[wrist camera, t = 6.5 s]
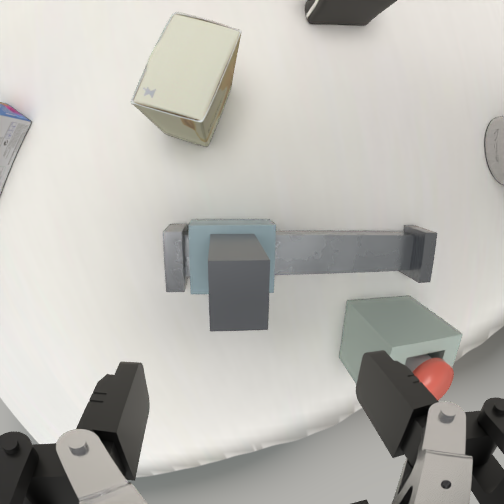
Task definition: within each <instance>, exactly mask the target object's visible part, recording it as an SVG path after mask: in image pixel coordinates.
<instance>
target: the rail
mask: <svg viewBox="0 0 504 504" xmlns="http://www.w3.org/2000/svg"><path fill="white" fill-rule="evenodd" d="M436 238H437V233H436V232H433V231H430V230H427V229H424V228H421V227H418V226H411V225H404V232H384V231H276V240H275V270H274V275H288V274H323V273H353V272H379V271H400V272H402V273H403V274H405V275H407V276H408V277H410V278H412V279H413V280H415V281H417V282H418V283H424V282H430V280H431V274H432V268H433V261H434V254H435V246H436ZM163 244H164V263H165V279H166V292H184V291H185V287H186V283H187V279H188V276H190V261H189V231H187V228H186V224H170V225H169V226H168V227H167V228H166V229H165V230H164V232H163Z"/></svg>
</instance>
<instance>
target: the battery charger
mask: <svg viewBox="0 0 504 504" xmlns="http://www.w3.org/2000/svg"><path fill="white" fill-rule="evenodd" d="M396 1H397V0H307V2H306V6H305V7H306V13H307V14H306V17H307V19H308V20H309V22H310V23H322V24H354V25H367V24H368V23H369V22H370V21H371V20H372V19H373V18H375V17H376V16H377V15H378V14H379V13H381V12H382V11H384V10H385V9H386V8H388V7H389V6H390V5H392V4H393V3H394V2H396Z"/></svg>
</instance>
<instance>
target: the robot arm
mask: <svg viewBox="0 0 504 504" xmlns="http://www.w3.org/2000/svg"><path fill="white" fill-rule="evenodd" d="M485 150H486V157H487V162H488V165H489V168H490V170H491V172H492V174H493V176H494V178H495V179H496V180H497V181H498V182H499V183H500V184H502V185H504V117H497V118H494V119H493V120H492V121H491V123H490V124H489V126H488V129H487V132H486V137H485ZM356 395H357V399H358V401H359V402H360V404H361V406H362V407H363V409H364V411H365V412H366V414H367V416H368V417H369V419H370V421H371V422H372V424H373V426H374V427H375V429H376V431H377V432H378V434H379V436H380V437H381V439H382V441H383V442H384V444H385V446H386V447H387V449H388V451H389V452H390V454H391V456H392V457H393V458H394V457H397V456H401V455H404V454H405V456H406V457H407V459H406V461H405V463H404V466H403V469H402V473H401V476H400V480H399V483H398V486H397V489H396V493H395V496H394V499H393V501H392V504H469V502H470V492H471V491H472V492H473V494H474V495H475V497H476V498H477V500H478V502H479V503H480V504H504V469H503V468H502V467H501V465H500V464H499V463H498V461H497V460H496V459H495V457H494V456H493V455H492V454H493V452H494V450H495V449H496V447H497V446H498V447H499V449H500V450H501V451H502V452H503V454H504V399H501V398H490V399H488V400H486V401H485V403H484V405H483V407H482V409H481V411H474V412H464V410H463V409H462V408H461V407H460V406H458V405H456V404H454V403H451V402H445V401H443V402H438V400H437V399H436V398H435V397H434V396H433V394H432V393H431V392H430V391H429V390H428V389H427V388H426V387H425V386H424V385H423V383H422V382H420V380H419V379H418V378H417V377H416V376H414V374H413V372H412V371H411V370H410V369H409V368H408V367H407V366H405V365H404V364H402V363H400V362H398V361H394V360H393V359H392V358H391V357H390V356H389V355H388V354H387V352H386V351H384V350H380V351H373V352H366V353H364V355H363V357H362V361H361V366H360V371H359V375H358V380H357V384H356ZM148 414H149V395H148V390H147V385H146V380H145V374H144V369H143V365H142V363H137V362H120V364H119V366H118V368H117V370H116V373H115V375H109V374H107V375H106V376H105V377H103V378H102V379H101V380H100V381H99V382H98V383H97V385H96V387H95V389H94V391H93V394H92V395H91V398H90V402H88V404H87V406H86V408H85V411H84V413H83V415H82V417H81V419H80V422H79V424H78V426H77V428H76V429H74V430H70V431H68V432H66V433H64V434H63V435H61V437H60V438H59V439H58V441H57V443H55V444H38V445H37V444H36V445H32V443H31V441H30V439H29V438H28V437H27V436H26V435H25V434H23V433H20V432H8V433H5V434H3V435H1V436H0V504H147V502H146V501H145V500H144V498H143V497H142V496H141V495H140V493H139V492H138V491H137V489H136V488H135V487H134V486H133V484H131V483H128V482H127V480H135V478H136V473H137V467H138V462H139V457H140V452H141V447H142V442H143V438H144V433H145V428H146V424H147V419H148ZM126 479H127V480H126ZM352 504H368V502H367V500H363V501H359V502H356V503H352Z"/></svg>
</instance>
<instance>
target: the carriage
mask: <svg viewBox="0 0 504 504" xmlns="http://www.w3.org/2000/svg"><path fill="white" fill-rule="evenodd" d="M188 227H189V261H190V285H191V294H209V315H210V331H243V330H268V312H269V293H274V270H275V240H276V225H275V224H274V223H273V222H272V221H271V220H270V219H214V220H191V222H190V224H189V226H188Z"/></svg>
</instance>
